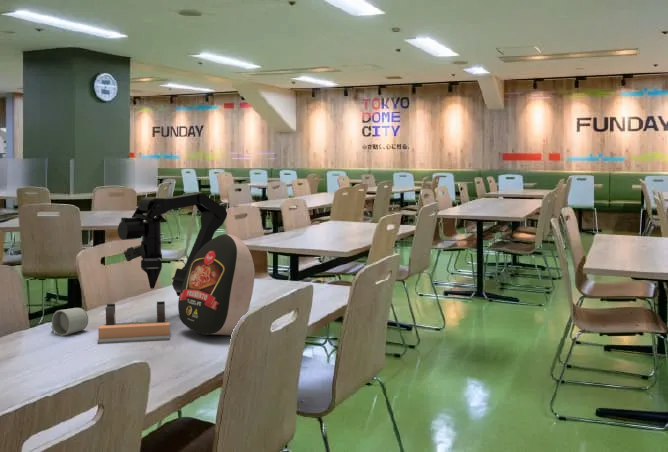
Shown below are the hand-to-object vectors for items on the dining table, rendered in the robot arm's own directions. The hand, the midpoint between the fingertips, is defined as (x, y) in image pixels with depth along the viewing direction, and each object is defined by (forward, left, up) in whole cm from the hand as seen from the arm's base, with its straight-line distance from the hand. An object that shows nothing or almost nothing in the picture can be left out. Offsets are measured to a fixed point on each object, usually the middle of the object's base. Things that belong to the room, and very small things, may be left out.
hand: (152, 285), depth 219 cm
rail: (+5, +17, -11) cm, 21 cm away
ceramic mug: (+25, +7, -12) cm, 29 cm away
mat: (+5, +17, -12) cm, 21 cm away
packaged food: (-19, +17, -12) cm, 28 cm away
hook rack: (+5, +6, -12) cm, 14 cm away
